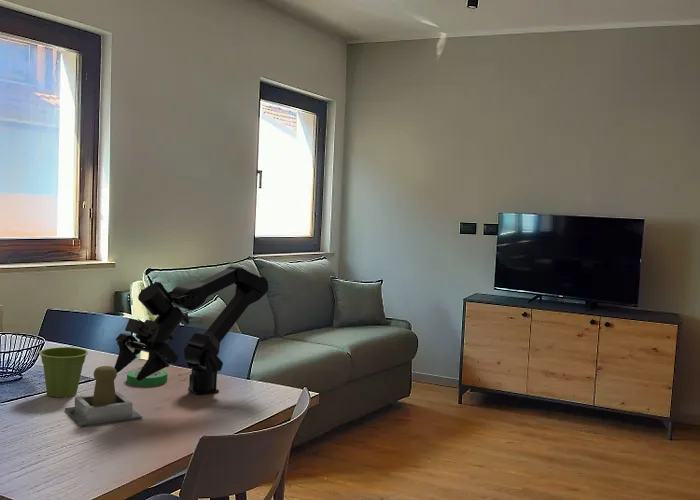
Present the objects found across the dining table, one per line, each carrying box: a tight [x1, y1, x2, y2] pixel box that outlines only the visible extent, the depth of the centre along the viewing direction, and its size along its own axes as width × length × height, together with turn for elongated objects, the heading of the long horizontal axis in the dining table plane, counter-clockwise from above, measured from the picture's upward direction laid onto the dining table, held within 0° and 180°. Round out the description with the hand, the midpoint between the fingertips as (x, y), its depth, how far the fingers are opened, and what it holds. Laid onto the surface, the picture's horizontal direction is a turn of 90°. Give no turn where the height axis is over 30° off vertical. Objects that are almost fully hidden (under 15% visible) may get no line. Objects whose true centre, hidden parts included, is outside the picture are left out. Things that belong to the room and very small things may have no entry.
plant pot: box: [38, 346, 89, 399], centre depth 181 cm, size 12×12×11 cm
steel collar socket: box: [64, 391, 143, 428], centre depth 166 cm, size 14×14×4 cm
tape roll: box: [126, 368, 168, 387], centre depth 198 cm, size 11×11×3 cm
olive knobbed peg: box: [92, 365, 118, 406], centre depth 166 cm, size 6×6×11 cm
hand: (125, 376), depth 171 cm, fingers open, 9 cm apart
